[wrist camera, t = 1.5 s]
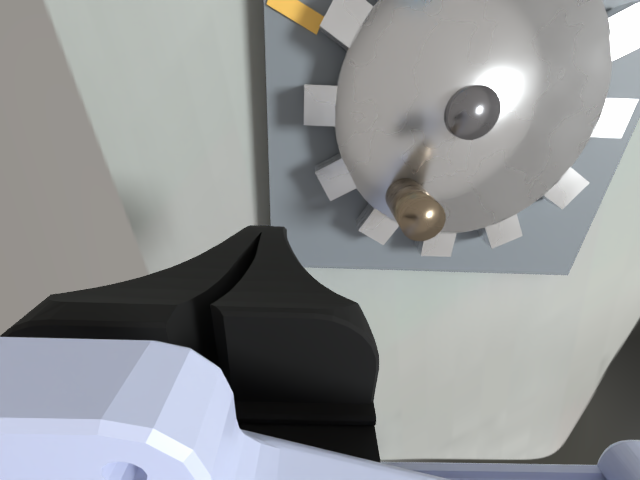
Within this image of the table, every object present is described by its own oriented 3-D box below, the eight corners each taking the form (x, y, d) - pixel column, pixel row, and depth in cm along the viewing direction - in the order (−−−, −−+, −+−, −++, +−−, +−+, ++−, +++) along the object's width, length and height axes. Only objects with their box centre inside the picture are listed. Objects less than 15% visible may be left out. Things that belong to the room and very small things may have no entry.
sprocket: (551, 249, 20) (616, 295, 16) (302, 241, 20) (298, 286, 16) (690, -87, 13) (873, -171, 9) (308, -110, 13) (304, -210, 9)
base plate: (557, 267, 22) (568, 276, 21) (273, 258, 22) (271, 267, 21) (732, -135, 14) (764, -152, 13) (262, -165, 13) (257, -185, 12)
